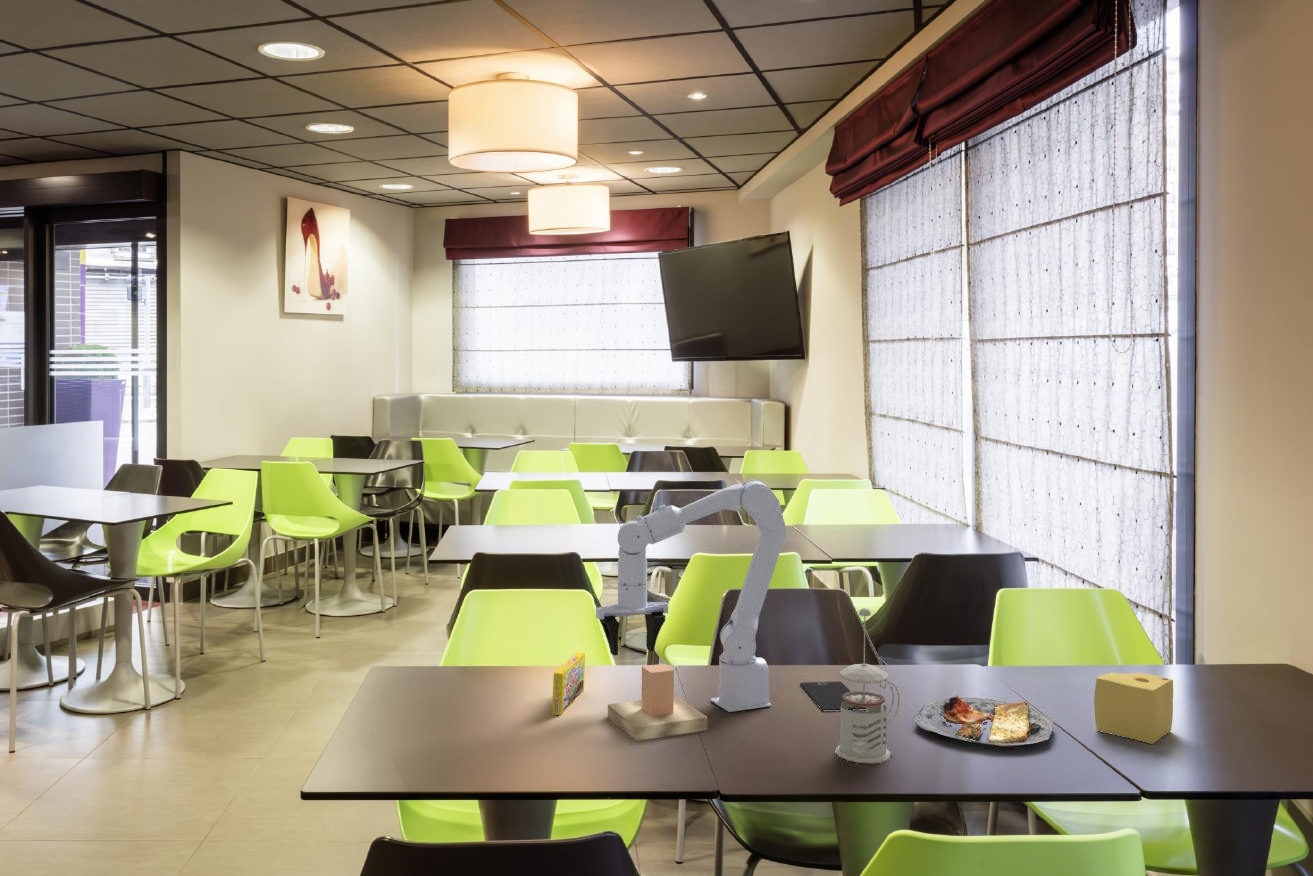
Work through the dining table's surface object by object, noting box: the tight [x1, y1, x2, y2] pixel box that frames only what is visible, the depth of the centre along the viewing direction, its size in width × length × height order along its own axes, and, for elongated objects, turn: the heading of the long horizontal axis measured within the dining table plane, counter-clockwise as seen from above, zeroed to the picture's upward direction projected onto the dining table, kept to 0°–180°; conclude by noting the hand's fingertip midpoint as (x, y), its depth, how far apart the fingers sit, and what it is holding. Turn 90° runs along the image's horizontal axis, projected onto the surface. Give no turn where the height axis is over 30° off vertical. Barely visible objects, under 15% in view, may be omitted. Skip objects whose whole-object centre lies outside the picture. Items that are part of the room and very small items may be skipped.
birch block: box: [607, 695, 708, 742], centre depth 188 cm, size 14×14×3 cm
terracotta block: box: [641, 663, 675, 716], centre depth 187 cm, size 4×4×8 cm
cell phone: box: [799, 680, 866, 711], centre depth 204 cm, size 9×18×1 cm, turn 6°
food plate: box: [914, 695, 1055, 748], centre depth 186 cm, size 25×23×4 cm
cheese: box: [1093, 672, 1174, 745], centre depth 184 cm, size 10×11×10 cm
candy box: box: [551, 651, 586, 716], centre depth 200 cm, size 16×2×8 cm, turn 168°
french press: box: [835, 607, 901, 762], centre depth 172 cm, size 10×12×25 cm
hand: (632, 652), depth 198 cm, fingers open, 7 cm apart
